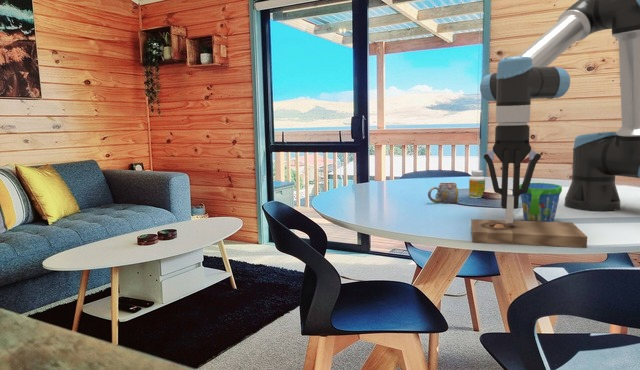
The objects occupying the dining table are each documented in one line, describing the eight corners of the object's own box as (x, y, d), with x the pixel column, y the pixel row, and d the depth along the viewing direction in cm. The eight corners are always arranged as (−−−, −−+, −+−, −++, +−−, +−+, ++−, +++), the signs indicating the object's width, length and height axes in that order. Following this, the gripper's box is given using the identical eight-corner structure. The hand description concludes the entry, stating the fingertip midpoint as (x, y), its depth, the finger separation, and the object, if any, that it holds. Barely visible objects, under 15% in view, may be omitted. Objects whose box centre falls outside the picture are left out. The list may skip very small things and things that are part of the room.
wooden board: (572, 232, 115) (572, 222, 114) (586, 247, 102) (587, 236, 101) (471, 228, 122) (471, 218, 121) (472, 242, 108) (472, 231, 108)
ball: (495, 224, 115) (488, 232, 114) (499, 219, 113) (492, 227, 112) (505, 232, 114) (499, 240, 113) (509, 227, 112) (503, 235, 111)
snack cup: (552, 230, 118) (553, 190, 116) (509, 224, 124) (510, 187, 123) (566, 218, 129) (568, 183, 128) (527, 214, 136) (528, 180, 135)
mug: (449, 199, 164) (449, 181, 163) (462, 202, 158) (462, 183, 157) (421, 203, 159) (421, 184, 158) (433, 206, 153) (433, 186, 152)
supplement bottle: (478, 199, 163) (479, 172, 161) (465, 197, 167) (466, 170, 165) (487, 197, 166) (488, 170, 164) (474, 195, 170) (475, 169, 169)
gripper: (539, 123, 110) (535, 219, 114) (482, 124, 114) (480, 217, 117) (545, 124, 103) (540, 226, 107) (484, 125, 107) (481, 224, 110)
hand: (509, 221), depth 112 cm, fingers closed
